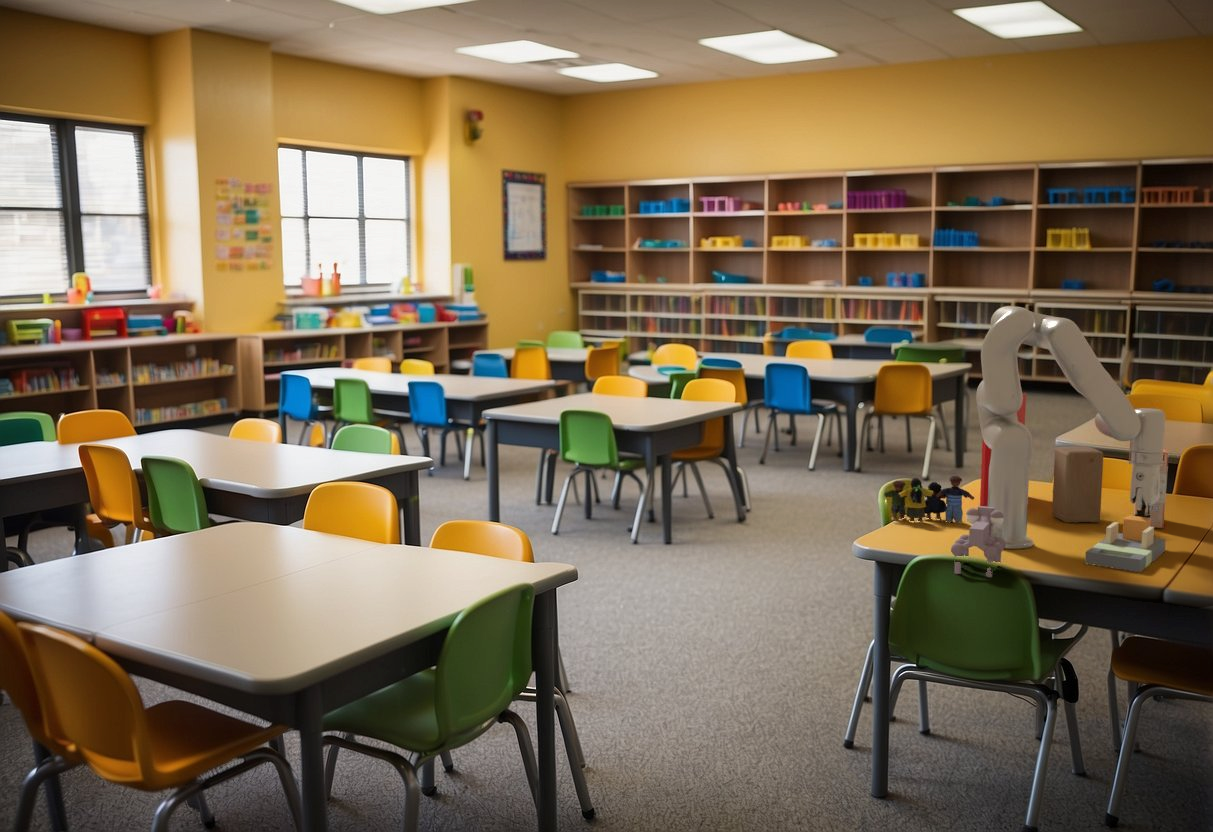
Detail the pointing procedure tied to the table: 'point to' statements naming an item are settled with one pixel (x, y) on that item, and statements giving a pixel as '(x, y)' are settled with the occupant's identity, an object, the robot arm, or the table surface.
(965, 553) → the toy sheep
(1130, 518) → the cube
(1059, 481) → the wooden block
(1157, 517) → the cracker box
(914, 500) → the doll family
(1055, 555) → the table surface
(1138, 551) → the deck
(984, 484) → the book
